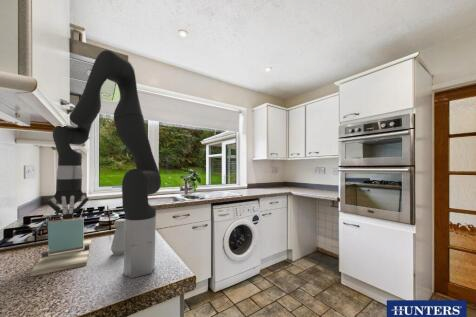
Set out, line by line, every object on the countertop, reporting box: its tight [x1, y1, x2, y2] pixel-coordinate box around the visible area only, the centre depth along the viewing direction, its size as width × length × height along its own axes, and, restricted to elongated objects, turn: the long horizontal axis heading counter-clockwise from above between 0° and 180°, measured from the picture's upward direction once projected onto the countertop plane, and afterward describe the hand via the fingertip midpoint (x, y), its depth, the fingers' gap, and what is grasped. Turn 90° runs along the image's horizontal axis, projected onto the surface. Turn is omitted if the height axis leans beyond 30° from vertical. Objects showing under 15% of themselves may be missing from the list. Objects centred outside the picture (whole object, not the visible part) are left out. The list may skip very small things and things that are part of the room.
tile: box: [47, 216, 85, 254], centre depth 76 cm, size 13×10×1 cm
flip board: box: [29, 238, 93, 277], centre depth 77 cm, size 26×14×3 cm, turn 32°
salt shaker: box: [110, 218, 125, 256], centre depth 80 cm, size 6×6×13 cm
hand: (68, 223), depth 77 cm, fingers closed
